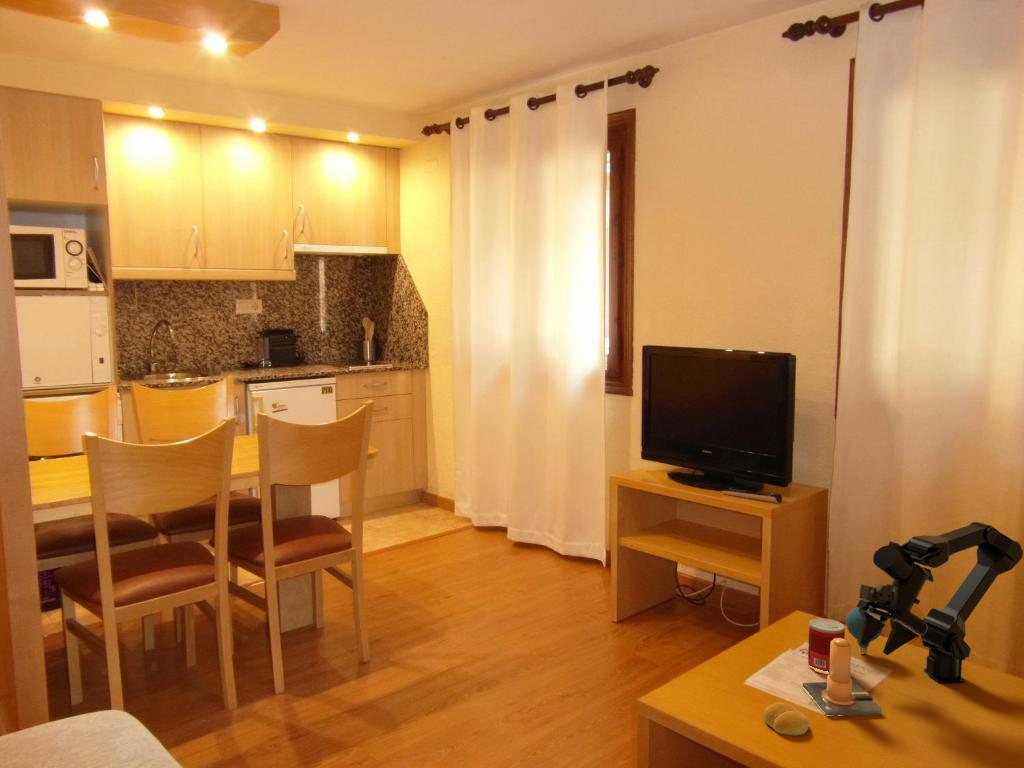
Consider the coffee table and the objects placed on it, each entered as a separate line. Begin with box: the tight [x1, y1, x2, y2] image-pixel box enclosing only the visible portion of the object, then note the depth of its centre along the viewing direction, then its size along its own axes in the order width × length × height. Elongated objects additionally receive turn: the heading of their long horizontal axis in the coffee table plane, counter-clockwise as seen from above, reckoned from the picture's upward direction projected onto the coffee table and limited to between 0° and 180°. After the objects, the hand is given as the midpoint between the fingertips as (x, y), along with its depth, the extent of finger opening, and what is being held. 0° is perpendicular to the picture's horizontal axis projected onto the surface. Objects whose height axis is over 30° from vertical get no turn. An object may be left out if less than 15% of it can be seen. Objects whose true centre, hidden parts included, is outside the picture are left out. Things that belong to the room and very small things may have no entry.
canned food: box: [807, 617, 846, 672], centre depth 186 cm, size 8×8×11 cm
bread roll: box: [763, 701, 809, 737], centre depth 161 cm, size 8×9×4 cm
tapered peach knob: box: [826, 638, 853, 702], centre depth 169 cm, size 5×5×13 cm
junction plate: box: [802, 680, 882, 717], centre depth 170 cm, size 12×12×2 cm
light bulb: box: [845, 606, 883, 655], centre depth 194 cm, size 8×8×12 cm
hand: (873, 649), depth 172 cm, fingers open, 9 cm apart
